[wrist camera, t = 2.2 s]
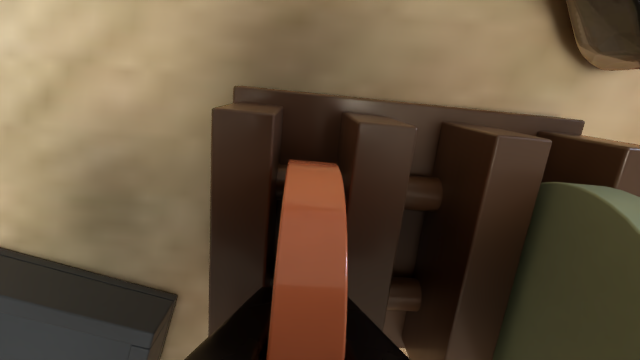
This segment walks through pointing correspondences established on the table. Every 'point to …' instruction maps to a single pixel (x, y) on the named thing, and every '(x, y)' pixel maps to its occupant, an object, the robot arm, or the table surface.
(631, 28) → the black sponge
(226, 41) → the table surface
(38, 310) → the tray
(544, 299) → the sage disc
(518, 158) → the rack
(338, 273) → the terracotta disc
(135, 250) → the table surface
